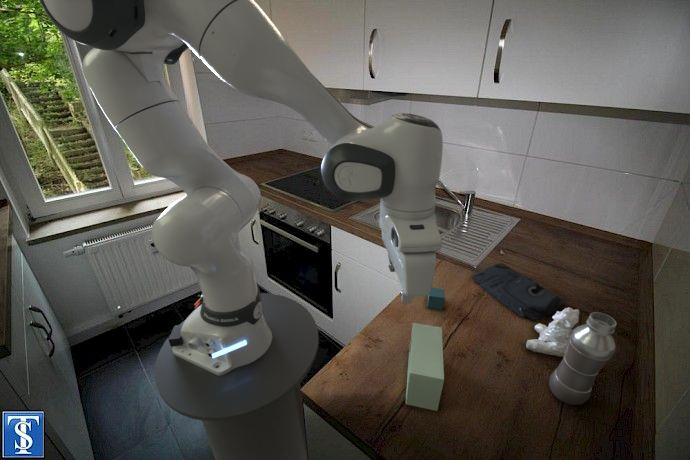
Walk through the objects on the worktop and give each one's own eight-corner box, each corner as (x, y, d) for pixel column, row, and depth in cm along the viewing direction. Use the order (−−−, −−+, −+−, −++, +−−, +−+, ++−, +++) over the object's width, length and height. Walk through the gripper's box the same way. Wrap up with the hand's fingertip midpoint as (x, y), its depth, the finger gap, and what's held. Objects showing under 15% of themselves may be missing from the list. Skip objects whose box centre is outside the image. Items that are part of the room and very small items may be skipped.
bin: (405, 404, 61) (409, 372, 57) (409, 351, 72) (413, 322, 68) (437, 411, 60) (444, 379, 56) (436, 356, 71) (441, 327, 67)
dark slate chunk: (503, 266, 103) (507, 253, 101) (568, 307, 85) (574, 294, 83) (467, 276, 98) (470, 264, 96) (528, 323, 80) (533, 309, 78)
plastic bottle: (541, 377, 66) (572, 304, 57) (576, 383, 65) (615, 309, 56) (552, 406, 61) (589, 329, 51) (591, 413, 59) (637, 336, 50)
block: (427, 307, 86) (429, 295, 84) (427, 298, 89) (429, 286, 87) (442, 309, 85) (444, 298, 83) (442, 300, 88) (444, 288, 86)
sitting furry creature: (535, 326, 79) (549, 288, 74) (575, 344, 74) (593, 305, 69) (523, 348, 73) (538, 308, 68) (566, 369, 68) (586, 328, 62)
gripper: (376, 195, 61) (372, 255, 68) (402, 249, 43) (395, 324, 49) (407, 194, 62) (401, 254, 68) (447, 247, 44) (433, 321, 50)
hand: (399, 284), depth 59 cm, fingers open, 8 cm apart
